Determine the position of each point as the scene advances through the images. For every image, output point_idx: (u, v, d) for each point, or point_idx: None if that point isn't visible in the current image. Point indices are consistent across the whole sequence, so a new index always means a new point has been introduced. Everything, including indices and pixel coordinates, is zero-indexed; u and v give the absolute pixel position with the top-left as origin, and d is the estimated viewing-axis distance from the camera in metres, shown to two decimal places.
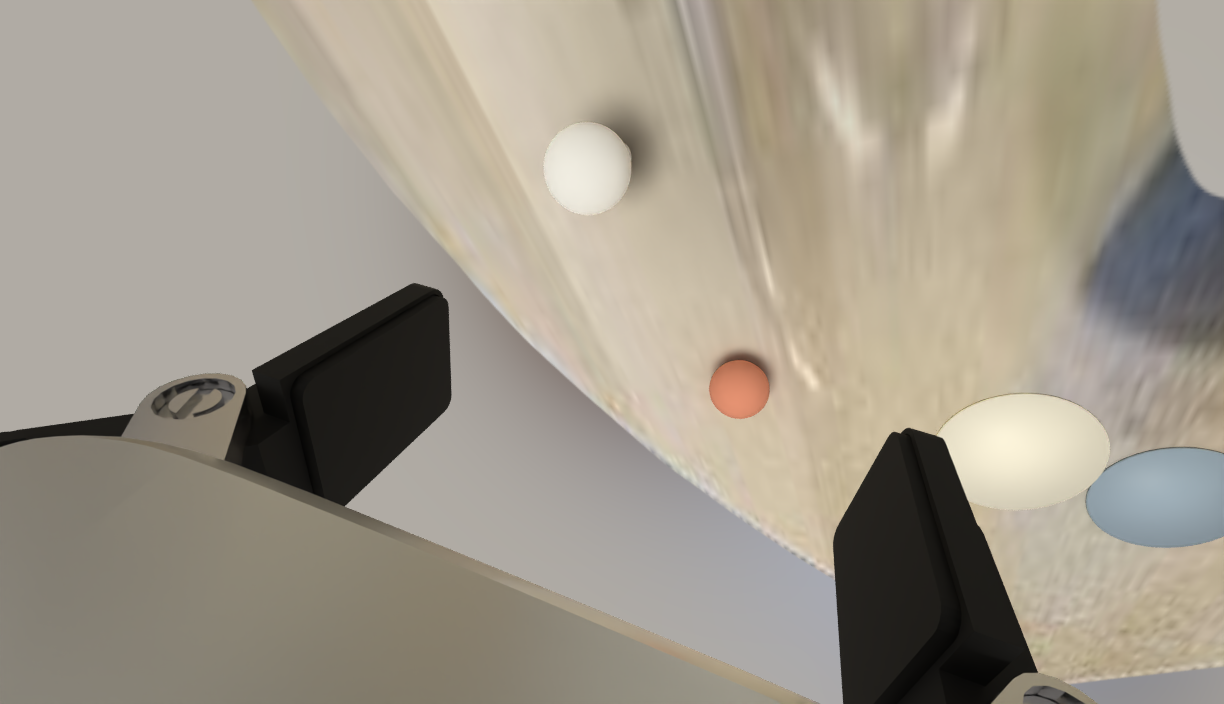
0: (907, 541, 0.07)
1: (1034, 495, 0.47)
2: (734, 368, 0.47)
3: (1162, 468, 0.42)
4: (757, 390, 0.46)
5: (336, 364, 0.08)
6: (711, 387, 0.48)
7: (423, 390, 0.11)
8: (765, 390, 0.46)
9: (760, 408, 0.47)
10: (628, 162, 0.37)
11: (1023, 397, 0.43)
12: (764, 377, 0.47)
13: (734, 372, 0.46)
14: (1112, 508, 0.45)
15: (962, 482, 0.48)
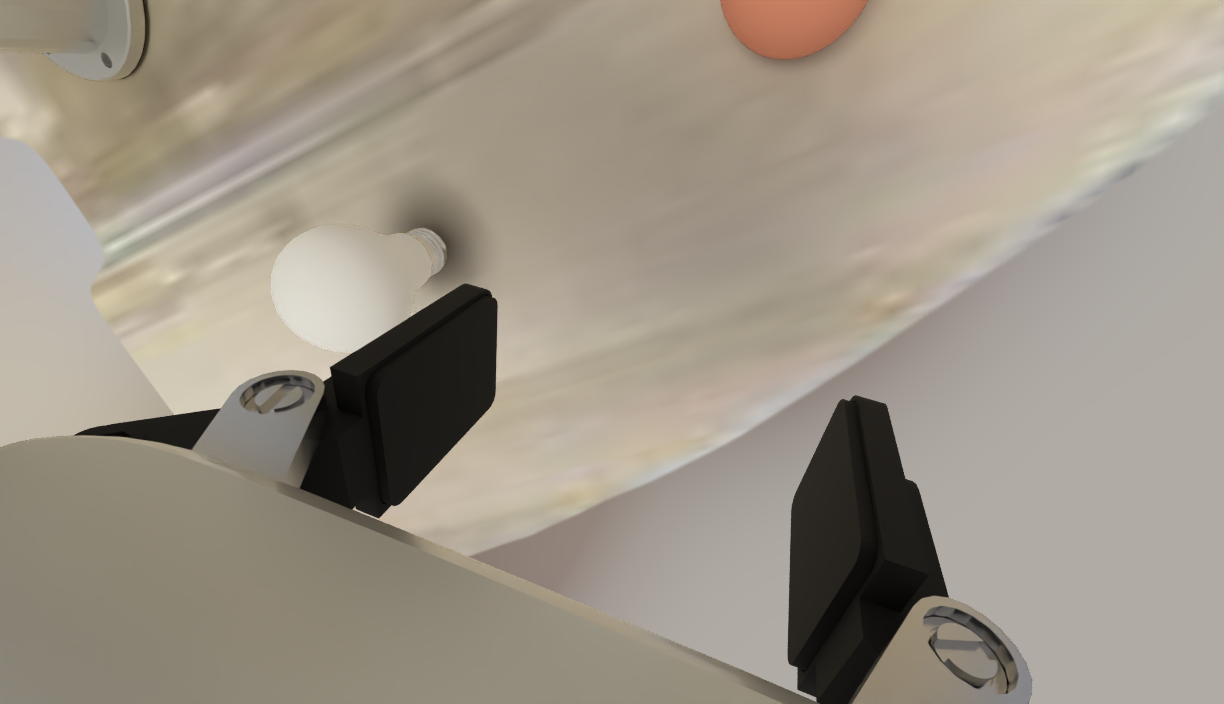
0: (843, 492, 0.08)
1: None
2: None
3: None
4: None
5: (405, 361, 0.08)
6: (773, 49, 0.19)
7: (473, 387, 0.11)
8: None
9: None
10: None
11: None
12: None
13: None
14: None
15: None
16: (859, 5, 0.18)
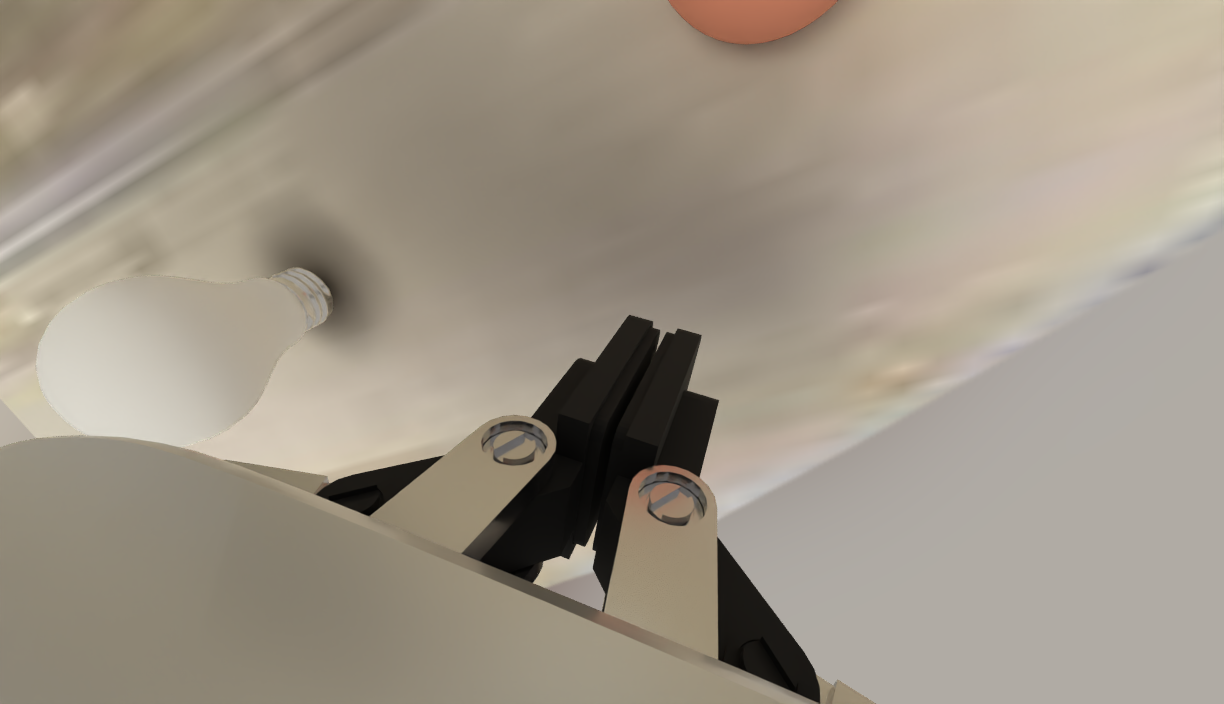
0: None
1: None
2: None
3: None
4: None
5: (618, 404, 0.08)
6: (728, 28, 0.12)
7: None
8: None
9: None
10: (113, 281, 0.18)
11: None
12: None
13: None
14: None
15: None
16: None
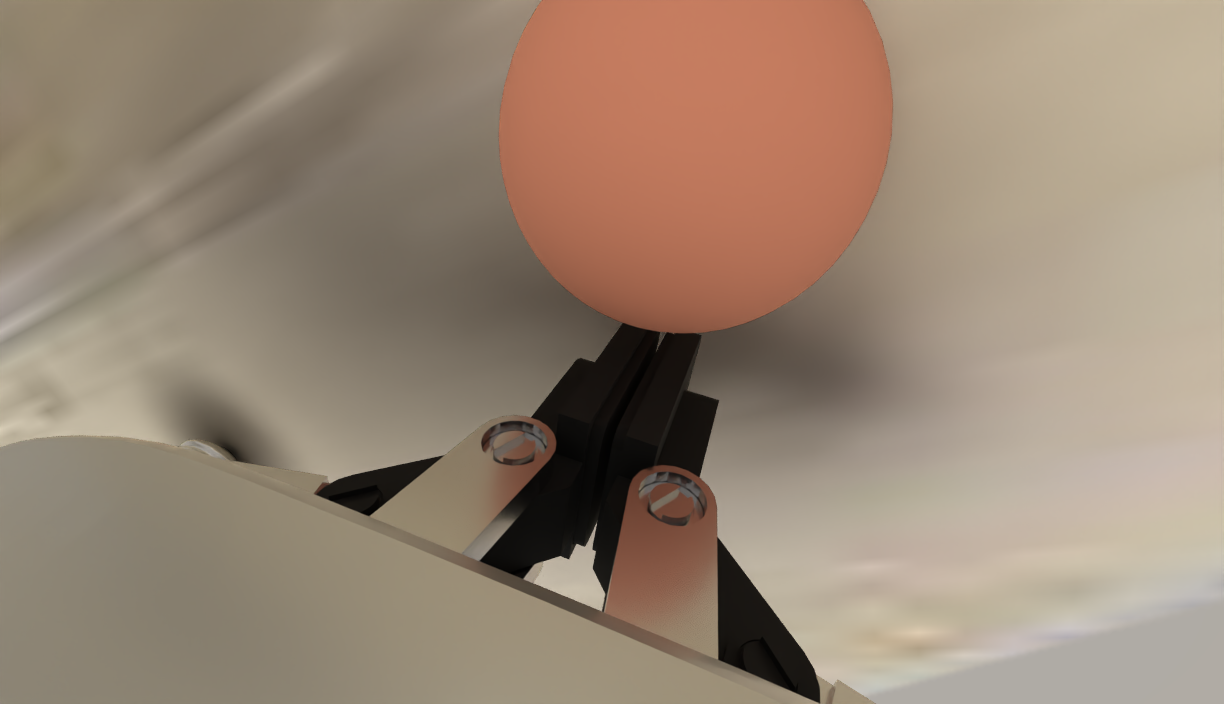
0: None
1: None
2: None
3: None
4: (545, 20, 0.06)
5: (618, 404, 0.08)
6: None
7: None
8: None
9: None
10: None
11: None
12: None
13: None
14: None
15: None
16: (834, 259, 0.07)
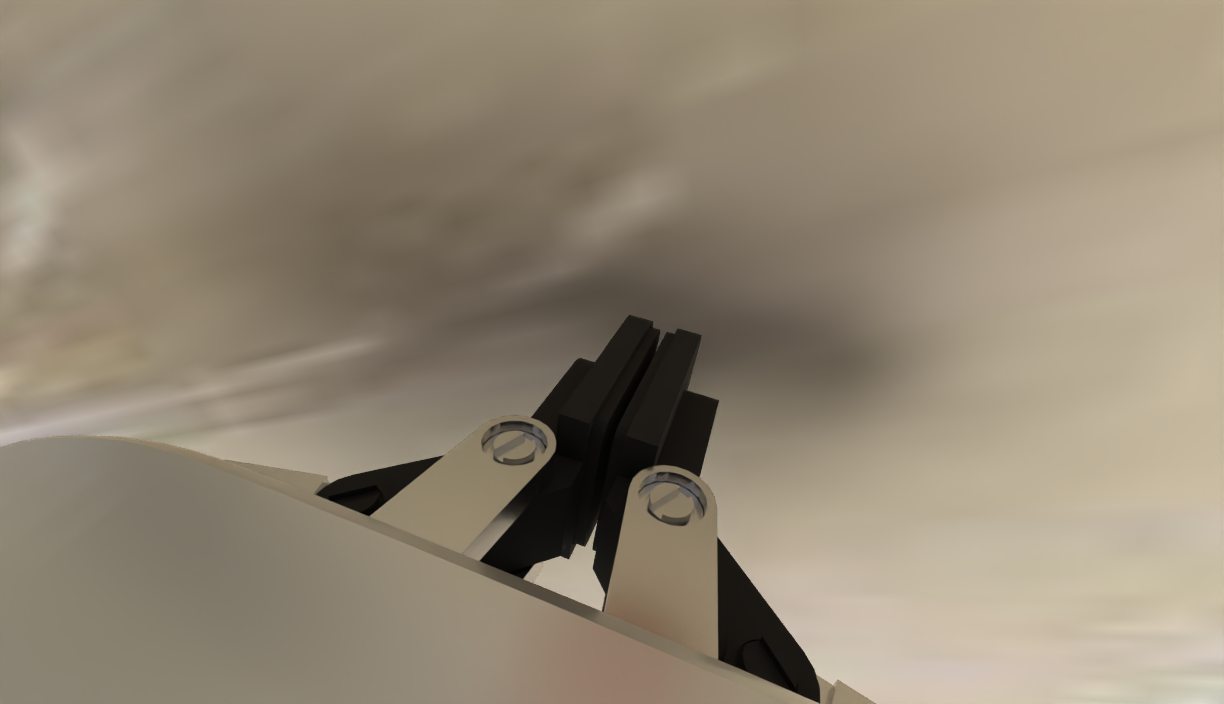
0: None
1: None
2: None
3: None
4: None
5: (618, 404, 0.08)
6: None
7: None
8: None
9: None
10: None
11: None
12: None
13: None
14: None
15: None
16: None
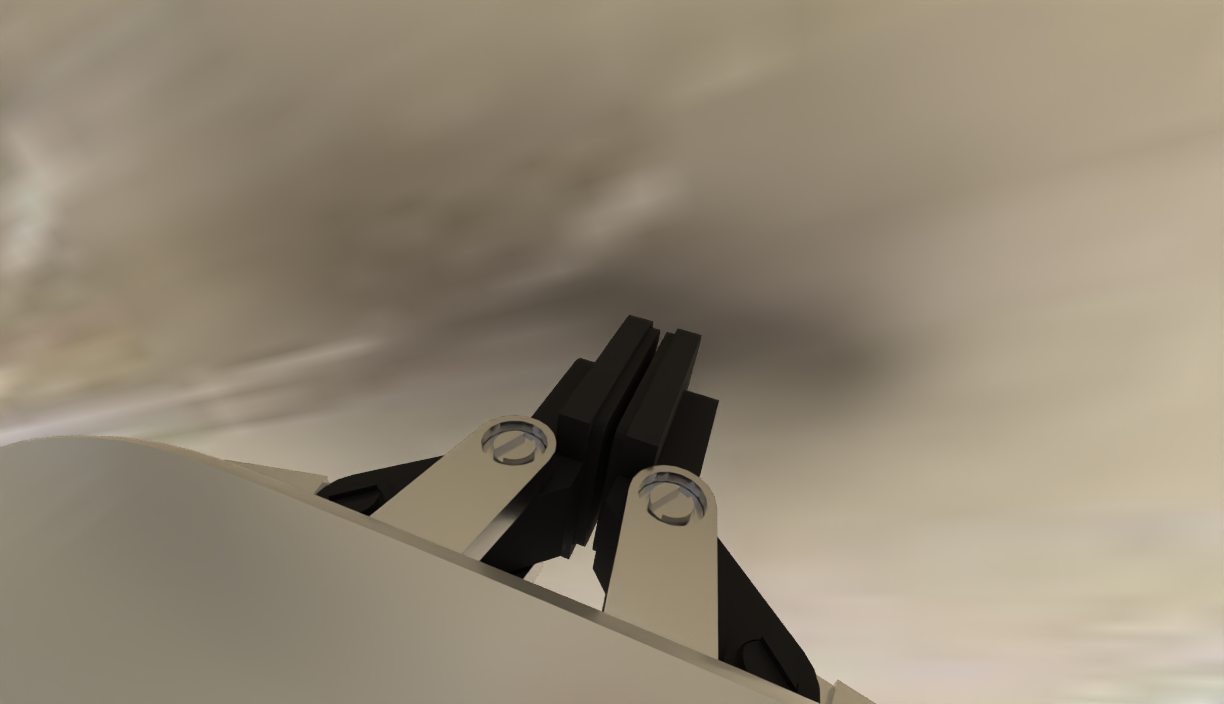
0: None
1: None
2: None
3: None
4: None
5: (618, 404, 0.08)
6: None
7: None
8: None
9: None
10: None
11: None
12: None
13: None
14: None
15: None
16: None
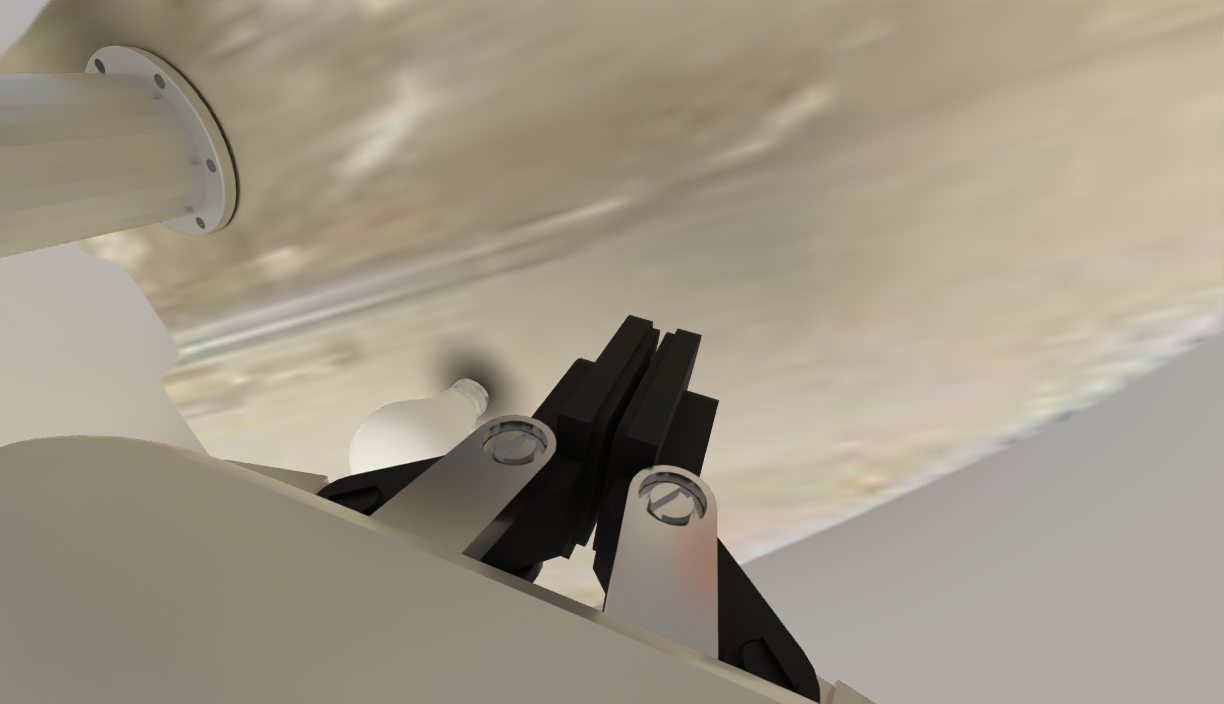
0: None
1: None
2: None
3: None
4: None
5: (618, 404, 0.08)
6: None
7: None
8: None
9: None
10: (389, 409, 0.30)
11: None
12: None
13: None
14: None
15: None
16: None
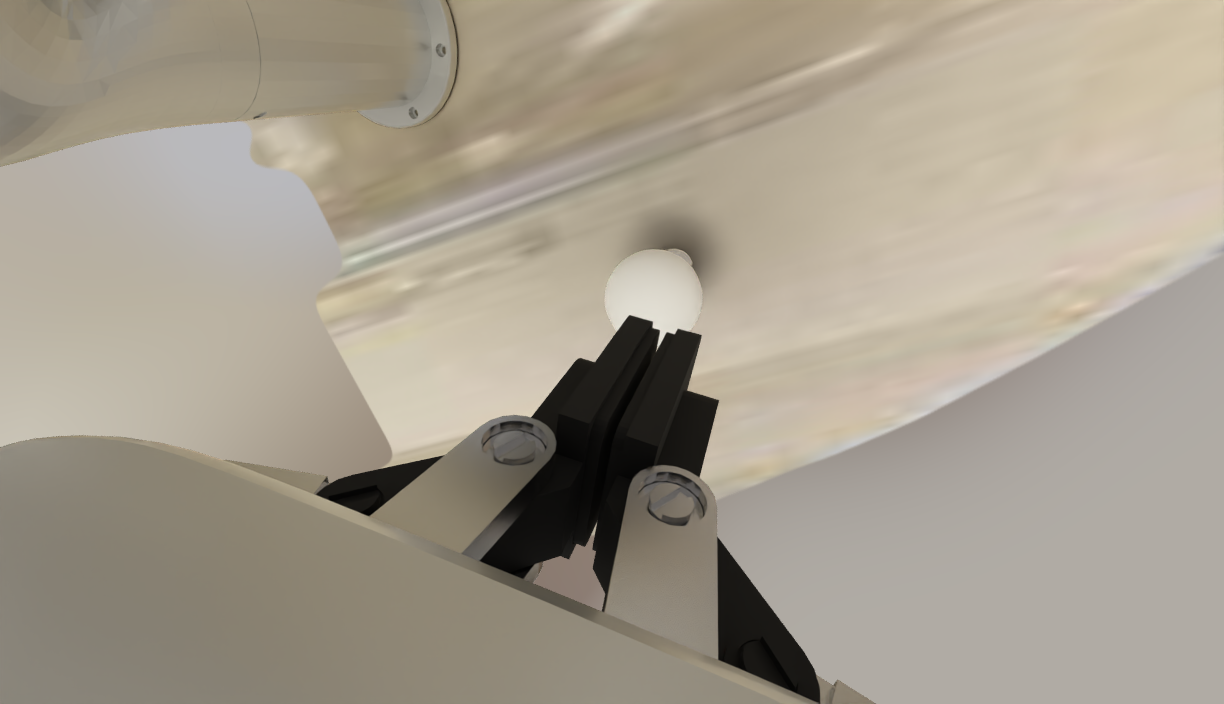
0: None
1: None
2: None
3: None
4: None
5: (618, 404, 0.08)
6: None
7: None
8: None
9: None
10: (645, 251, 0.33)
11: None
12: None
13: None
14: None
15: None
16: None
